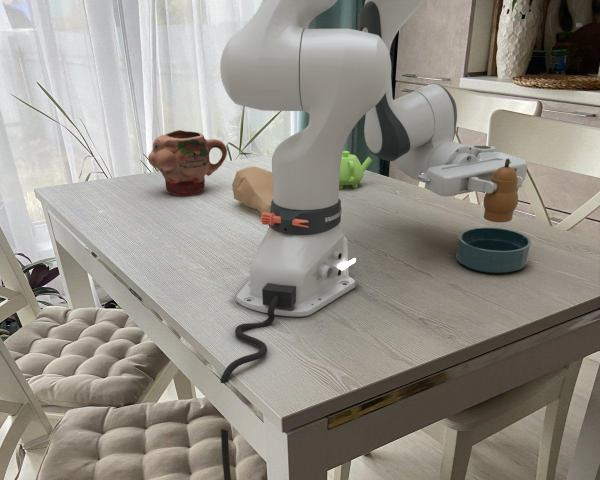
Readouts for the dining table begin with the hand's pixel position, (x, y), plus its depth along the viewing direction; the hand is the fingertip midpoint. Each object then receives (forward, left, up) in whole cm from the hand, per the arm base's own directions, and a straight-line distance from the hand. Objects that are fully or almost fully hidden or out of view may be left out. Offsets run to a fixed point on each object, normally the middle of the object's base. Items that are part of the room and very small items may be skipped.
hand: (507, 185), depth 108 cm
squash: (+10, +56, -15) cm, 59 cm away
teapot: (+38, +47, -15) cm, 62 cm away
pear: (+1, +1, -6) cm, 6 cm away
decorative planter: (+17, +81, -15) cm, 84 cm away
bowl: (0, +1, -14) cm, 14 cm away
